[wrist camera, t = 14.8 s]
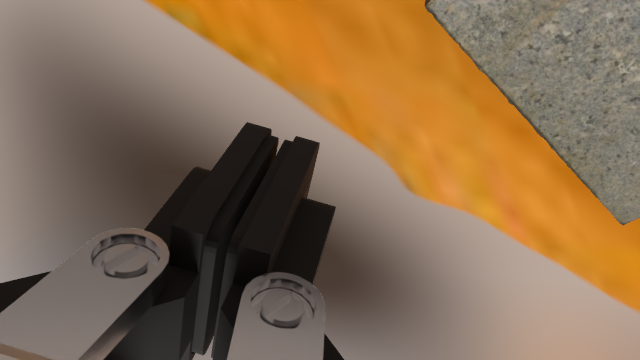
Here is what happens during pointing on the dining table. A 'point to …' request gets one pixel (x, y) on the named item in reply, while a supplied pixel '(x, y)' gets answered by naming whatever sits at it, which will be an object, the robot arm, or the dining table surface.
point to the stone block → (565, 80)
